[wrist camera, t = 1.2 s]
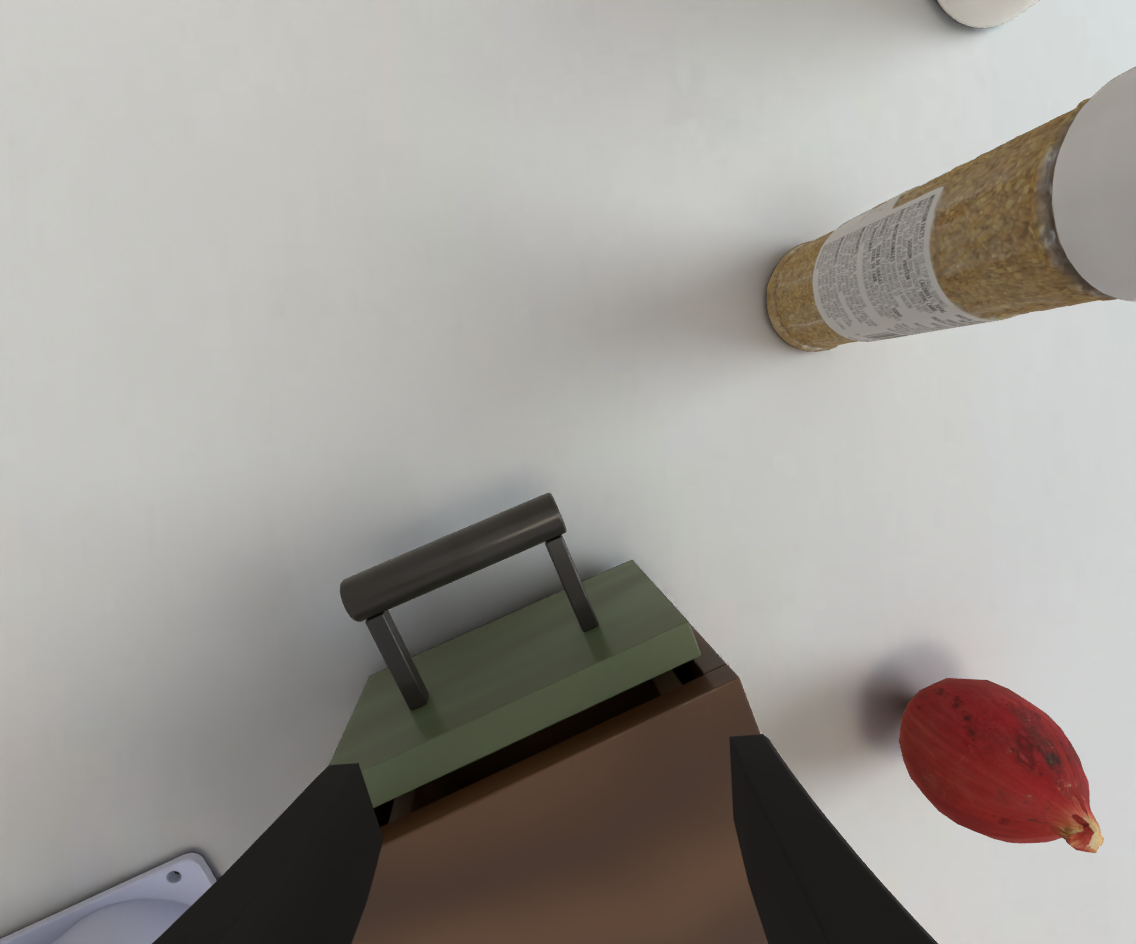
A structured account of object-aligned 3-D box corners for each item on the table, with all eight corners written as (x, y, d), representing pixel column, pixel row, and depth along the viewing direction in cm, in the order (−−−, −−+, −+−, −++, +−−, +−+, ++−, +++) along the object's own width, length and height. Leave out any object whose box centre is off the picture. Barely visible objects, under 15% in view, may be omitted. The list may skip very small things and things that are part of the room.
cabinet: (378, 705, 22) (311, 879, 14) (653, 581, 23) (739, 676, 15) (514, 970, 24) (526, 1247, 16) (757, 847, 25) (878, 1051, 17)
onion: (868, 646, 25) (1044, 759, 17) (974, 649, 26) (1188, 757, 18) (850, 760, 25) (1011, 920, 17) (954, 759, 26) (1151, 910, 18)
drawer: (314, 570, 20) (234, 645, 14) (590, 453, 21) (632, 474, 15) (503, 937, 23) (508, 1134, 17) (736, 821, 24) (821, 967, 18)
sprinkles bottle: (864, 246, 22) (1412, 13, 9) (855, 356, 23) (1357, 288, 10) (763, 239, 22) (1194, -24, 8) (756, 352, 22) (1148, 274, 9)
